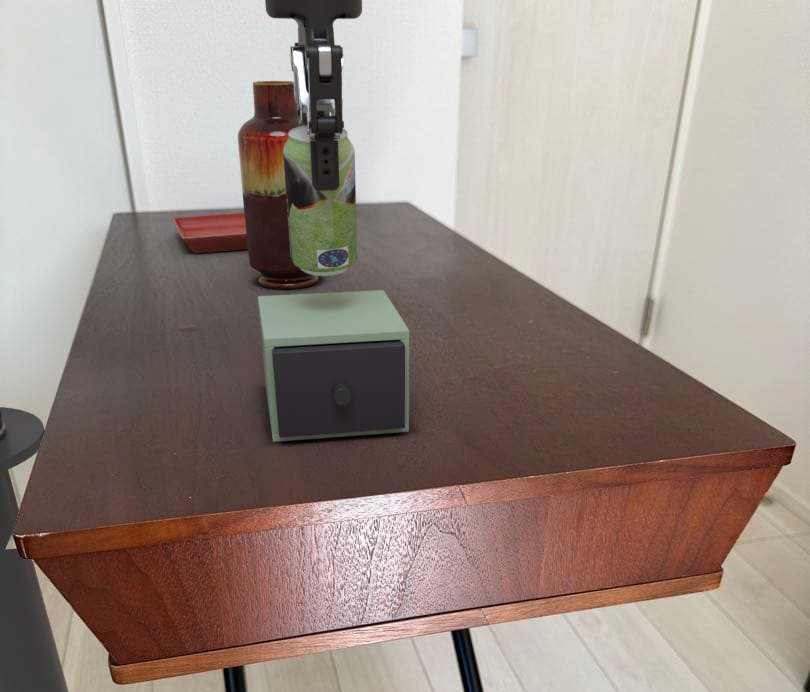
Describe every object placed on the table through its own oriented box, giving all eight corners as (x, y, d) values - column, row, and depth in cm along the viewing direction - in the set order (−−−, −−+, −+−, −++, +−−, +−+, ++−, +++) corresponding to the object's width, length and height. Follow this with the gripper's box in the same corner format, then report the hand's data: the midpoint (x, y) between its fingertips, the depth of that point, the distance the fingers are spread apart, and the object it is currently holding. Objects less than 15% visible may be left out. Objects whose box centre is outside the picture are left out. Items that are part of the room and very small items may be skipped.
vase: (335, 275, 128) (327, 80, 115) (311, 293, 119) (299, 84, 105) (267, 270, 130) (252, 79, 117) (238, 288, 121) (218, 83, 108)
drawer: (407, 433, 76) (407, 349, 72) (280, 443, 74) (273, 357, 70) (382, 380, 87) (381, 305, 83) (272, 387, 85) (265, 311, 81)
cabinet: (409, 431, 78) (409, 330, 73) (272, 442, 76) (263, 338, 71) (385, 380, 90) (383, 289, 85) (265, 388, 88) (257, 296, 83)
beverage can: (351, 261, 80) (348, 122, 74) (365, 280, 74) (362, 130, 68) (286, 264, 79) (276, 122, 73) (294, 283, 73) (284, 130, 67)
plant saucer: (184, 257, 138) (181, 236, 136) (174, 235, 153) (171, 216, 151) (292, 249, 143) (291, 229, 141) (272, 229, 158) (271, 210, 156)
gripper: (257, -49, 69) (273, 172, 78) (265, -66, 57) (283, 199, 66) (348, -47, 70) (354, 171, 79) (375, -63, 58) (378, 196, 67)
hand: (321, 182), depth 72 cm, fingers closed on beverage can, 6 cm apart
